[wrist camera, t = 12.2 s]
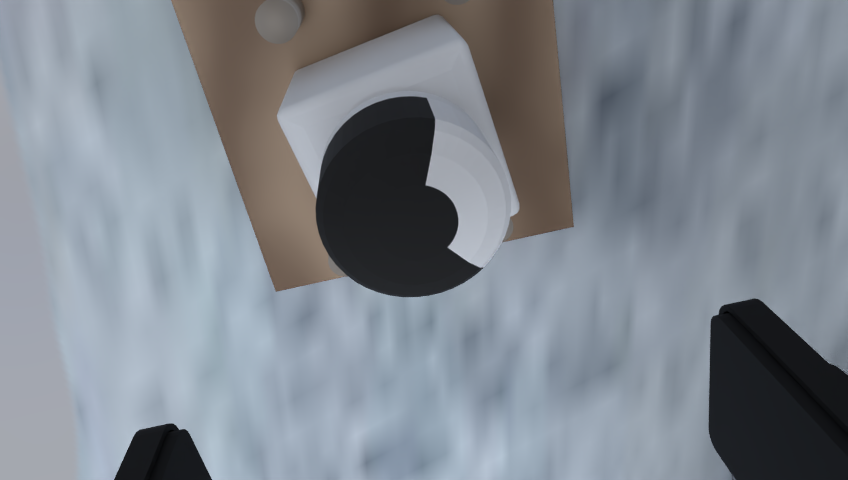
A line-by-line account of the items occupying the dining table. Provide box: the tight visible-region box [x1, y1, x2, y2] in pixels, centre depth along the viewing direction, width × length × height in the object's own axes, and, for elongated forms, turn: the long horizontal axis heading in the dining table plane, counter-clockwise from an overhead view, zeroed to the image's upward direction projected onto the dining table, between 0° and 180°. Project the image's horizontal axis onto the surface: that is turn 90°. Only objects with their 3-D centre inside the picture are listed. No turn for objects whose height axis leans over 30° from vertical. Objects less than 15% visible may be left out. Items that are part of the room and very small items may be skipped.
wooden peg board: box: [171, 0, 574, 291], centre depth 28 cm, size 16×16×4 cm
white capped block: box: [277, 15, 519, 297], centre depth 24 cm, size 7×7×12 cm
